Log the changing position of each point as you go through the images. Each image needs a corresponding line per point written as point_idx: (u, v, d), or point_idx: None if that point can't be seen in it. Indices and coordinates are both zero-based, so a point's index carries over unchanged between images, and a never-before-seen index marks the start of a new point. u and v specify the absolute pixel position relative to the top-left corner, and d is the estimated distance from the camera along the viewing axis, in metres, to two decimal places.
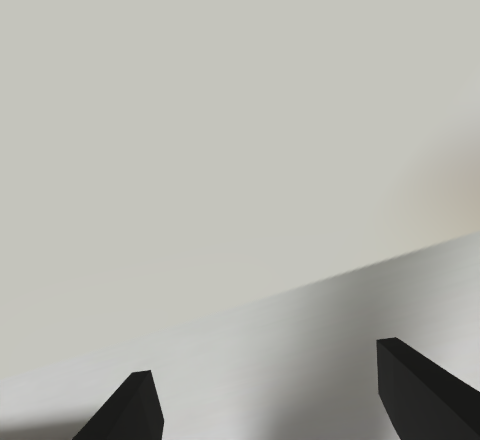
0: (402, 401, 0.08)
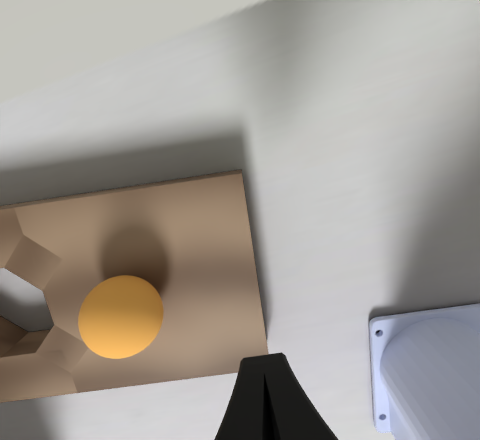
0: (272, 418, 0.08)
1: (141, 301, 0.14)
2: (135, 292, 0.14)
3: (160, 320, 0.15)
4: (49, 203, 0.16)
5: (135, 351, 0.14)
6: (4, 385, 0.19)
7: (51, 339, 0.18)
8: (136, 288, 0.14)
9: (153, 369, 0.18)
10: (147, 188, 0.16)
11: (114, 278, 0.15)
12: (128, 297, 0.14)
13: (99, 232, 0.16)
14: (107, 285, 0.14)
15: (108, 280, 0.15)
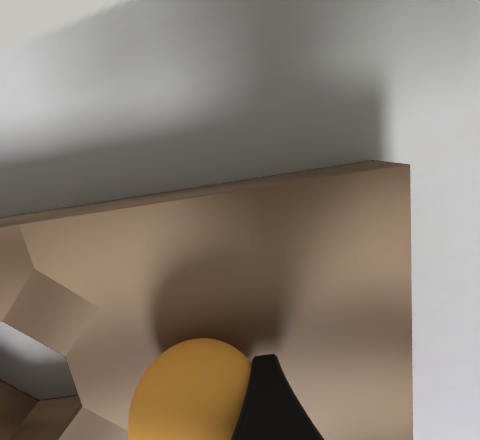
0: None
1: (239, 407, 0.07)
2: (228, 387, 0.08)
3: None
4: (79, 217, 0.09)
5: None
6: None
7: (77, 427, 0.11)
8: (228, 376, 0.08)
9: None
10: (247, 191, 0.09)
11: (188, 350, 0.08)
12: (217, 400, 0.07)
13: (161, 265, 0.10)
14: (178, 369, 0.08)
15: (179, 353, 0.08)
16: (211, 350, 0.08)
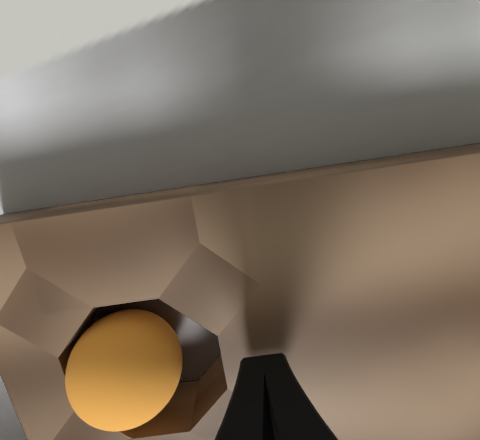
0: (272, 418, 0.08)
1: None
2: None
3: None
4: (254, 188, 0.09)
5: None
6: None
7: (219, 411, 0.11)
8: (108, 315, 0.12)
9: None
10: (432, 161, 0.09)
11: (110, 322, 0.10)
12: None
13: (331, 240, 0.09)
14: (127, 313, 0.11)
15: (117, 322, 0.10)
16: (98, 323, 0.11)
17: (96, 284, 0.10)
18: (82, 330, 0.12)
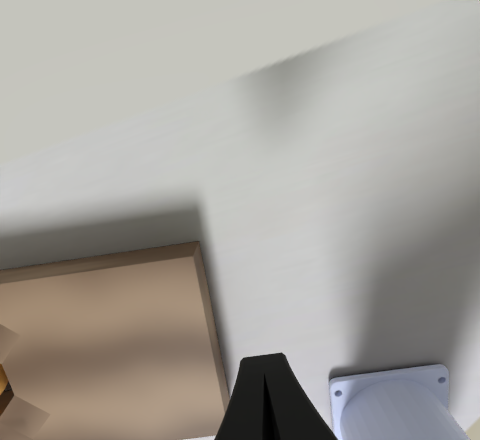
0: (272, 417, 0.08)
1: None
2: None
3: None
4: (5, 284, 0.16)
5: None
6: None
7: (12, 408, 0.18)
8: None
9: (114, 435, 0.19)
10: (101, 270, 0.16)
11: None
12: None
13: (55, 311, 0.16)
14: None
15: None
16: None
17: None
18: None
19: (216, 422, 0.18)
